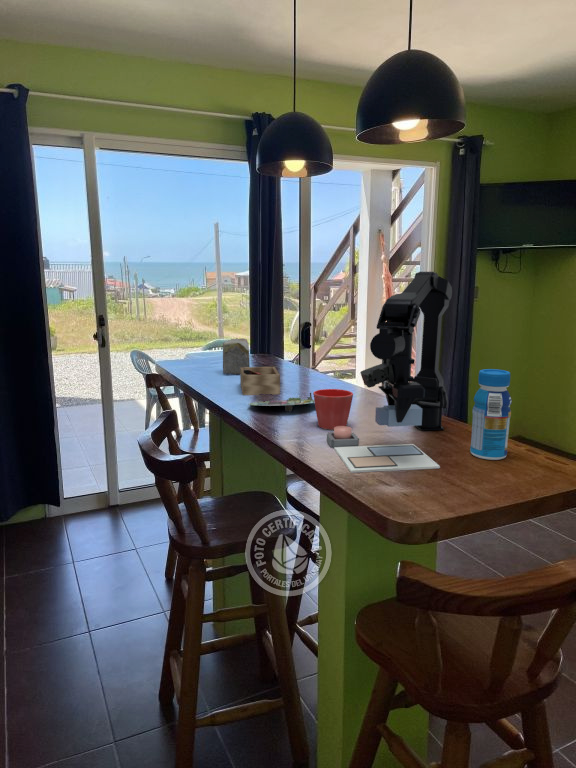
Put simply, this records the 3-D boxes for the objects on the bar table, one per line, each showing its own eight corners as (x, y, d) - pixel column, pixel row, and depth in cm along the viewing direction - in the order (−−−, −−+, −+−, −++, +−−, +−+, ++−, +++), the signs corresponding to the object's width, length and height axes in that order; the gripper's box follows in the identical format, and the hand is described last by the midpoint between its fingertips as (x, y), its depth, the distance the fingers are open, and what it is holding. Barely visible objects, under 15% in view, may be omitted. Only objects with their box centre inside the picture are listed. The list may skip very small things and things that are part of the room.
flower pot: (327, 419, 159) (327, 386, 157) (359, 425, 152) (360, 391, 150) (305, 426, 151) (305, 392, 149) (337, 434, 144) (338, 398, 142)
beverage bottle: (462, 453, 128) (467, 370, 124) (482, 447, 133) (488, 366, 129) (494, 463, 121) (501, 376, 117) (514, 456, 126) (522, 371, 122)
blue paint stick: (415, 420, 130) (416, 404, 129) (421, 425, 126) (422, 408, 125) (374, 422, 128) (375, 405, 127) (379, 426, 124) (380, 410, 123)
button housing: (352, 439, 139) (352, 431, 139) (359, 447, 133) (359, 439, 132) (325, 440, 138) (326, 432, 138) (331, 448, 132) (331, 440, 131)
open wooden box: (274, 384, 208) (274, 366, 206) (279, 394, 191) (279, 374, 190) (240, 385, 206) (240, 367, 204) (243, 395, 189) (242, 375, 188)
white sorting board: (413, 445, 134) (413, 442, 134) (439, 468, 118) (440, 465, 118) (334, 449, 131) (334, 446, 131) (350, 472, 116) (350, 469, 116)
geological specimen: (224, 376, 225) (223, 340, 222) (222, 373, 231) (221, 338, 228) (250, 374, 228) (249, 339, 225) (247, 372, 234) (246, 337, 231)
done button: (348, 436, 138) (349, 425, 137) (353, 442, 133) (353, 430, 133) (332, 437, 137) (332, 426, 137) (335, 442, 133) (336, 431, 132)
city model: (308, 403, 188) (307, 385, 188) (336, 410, 166) (335, 390, 166) (238, 410, 180) (237, 392, 179) (259, 419, 158) (257, 398, 157)
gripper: (354, 348, 131) (352, 411, 135) (376, 361, 113) (374, 432, 117) (398, 347, 133) (395, 409, 136) (427, 359, 115) (423, 430, 118)
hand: (396, 419), depth 127 cm, fingers closed on blue paint stick, 4 cm apart
